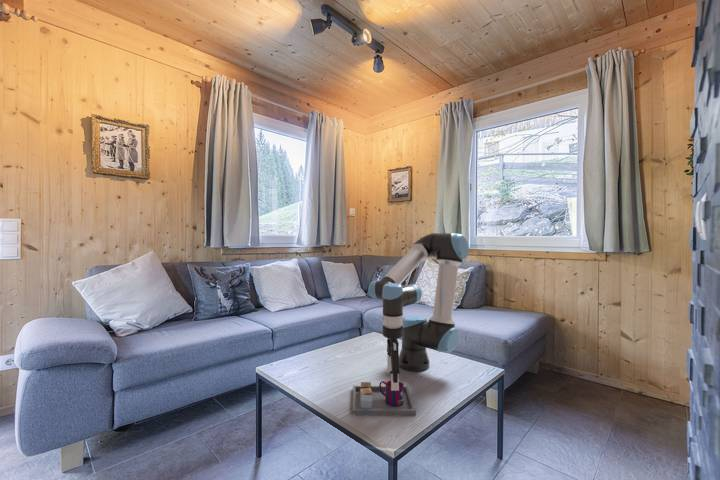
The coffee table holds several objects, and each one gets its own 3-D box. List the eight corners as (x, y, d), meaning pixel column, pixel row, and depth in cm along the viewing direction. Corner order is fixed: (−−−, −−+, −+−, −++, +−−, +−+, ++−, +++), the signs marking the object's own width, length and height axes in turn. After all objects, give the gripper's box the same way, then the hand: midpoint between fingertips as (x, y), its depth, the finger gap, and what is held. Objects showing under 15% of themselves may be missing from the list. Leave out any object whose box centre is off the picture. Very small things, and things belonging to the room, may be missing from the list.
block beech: (370, 398, 125) (370, 387, 125) (372, 403, 122) (372, 393, 121) (360, 399, 125) (360, 388, 125) (362, 404, 121) (362, 393, 121)
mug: (396, 408, 118) (396, 390, 118) (375, 398, 125) (375, 381, 125) (406, 401, 123) (407, 384, 123) (386, 392, 130) (386, 375, 130)
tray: (407, 391, 132) (407, 385, 132) (415, 416, 114) (415, 410, 114) (353, 390, 132) (353, 385, 132) (352, 416, 114) (352, 410, 114)
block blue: (372, 406, 120) (372, 395, 120) (371, 412, 116) (371, 401, 116) (361, 405, 120) (362, 394, 120) (360, 411, 116) (360, 400, 116)
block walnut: (370, 392, 130) (370, 382, 130) (371, 397, 126) (371, 387, 126) (360, 392, 130) (360, 382, 130) (360, 397, 126) (360, 386, 126)
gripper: (380, 315, 135) (380, 366, 136) (385, 337, 110) (385, 398, 111) (398, 315, 135) (398, 365, 136) (408, 337, 110) (408, 398, 111)
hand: (392, 380), depth 124 cm, fingers open, 13 cm apart
